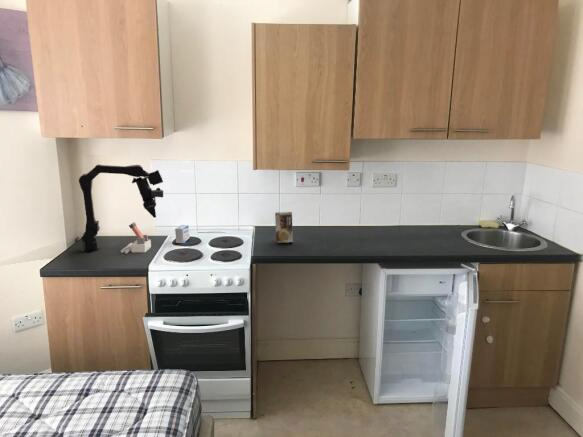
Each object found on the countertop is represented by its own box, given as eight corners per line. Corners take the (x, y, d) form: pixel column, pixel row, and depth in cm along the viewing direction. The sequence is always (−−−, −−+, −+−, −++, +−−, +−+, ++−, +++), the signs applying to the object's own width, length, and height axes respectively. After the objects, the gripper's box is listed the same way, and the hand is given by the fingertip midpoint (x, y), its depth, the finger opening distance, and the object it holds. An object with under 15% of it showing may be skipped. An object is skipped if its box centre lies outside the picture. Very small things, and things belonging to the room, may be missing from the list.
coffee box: (292, 240, 245) (292, 211, 241) (293, 244, 239) (292, 214, 235) (276, 240, 245) (275, 212, 241) (275, 244, 239) (275, 214, 235)
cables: (127, 254, 227) (126, 251, 227) (119, 254, 228) (118, 251, 227) (137, 245, 242) (137, 242, 241) (130, 245, 242) (130, 242, 242)
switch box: (131, 252, 230) (130, 239, 228) (138, 247, 239) (136, 234, 237) (145, 252, 230) (143, 239, 228) (151, 246, 239) (149, 234, 237)
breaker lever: (140, 242, 232) (128, 225, 230) (142, 240, 235) (131, 224, 233) (143, 240, 231) (131, 223, 229) (145, 238, 235) (134, 222, 233)
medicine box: (183, 244, 242) (182, 228, 240) (176, 244, 243) (174, 228, 241) (189, 240, 249) (188, 225, 247) (182, 239, 250) (181, 224, 248)
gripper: (160, 186, 229) (170, 214, 234) (158, 180, 246) (168, 207, 251) (138, 193, 227) (149, 221, 231) (138, 187, 244) (149, 213, 249)
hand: (155, 215), depth 241 cm, fingers open, 9 cm apart
